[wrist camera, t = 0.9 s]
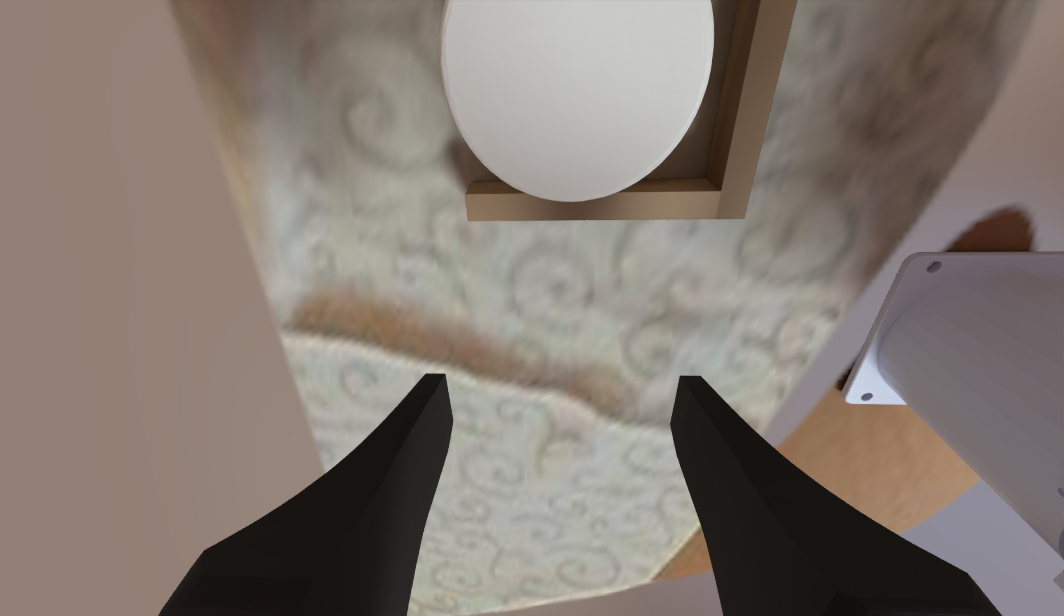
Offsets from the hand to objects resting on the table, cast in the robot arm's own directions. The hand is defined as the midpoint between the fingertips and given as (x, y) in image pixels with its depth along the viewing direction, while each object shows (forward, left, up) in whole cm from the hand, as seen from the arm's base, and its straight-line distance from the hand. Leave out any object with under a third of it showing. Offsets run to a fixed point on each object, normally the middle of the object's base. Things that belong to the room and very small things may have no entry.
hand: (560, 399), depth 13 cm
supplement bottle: (0, -9, -7) cm, 12 cm away
